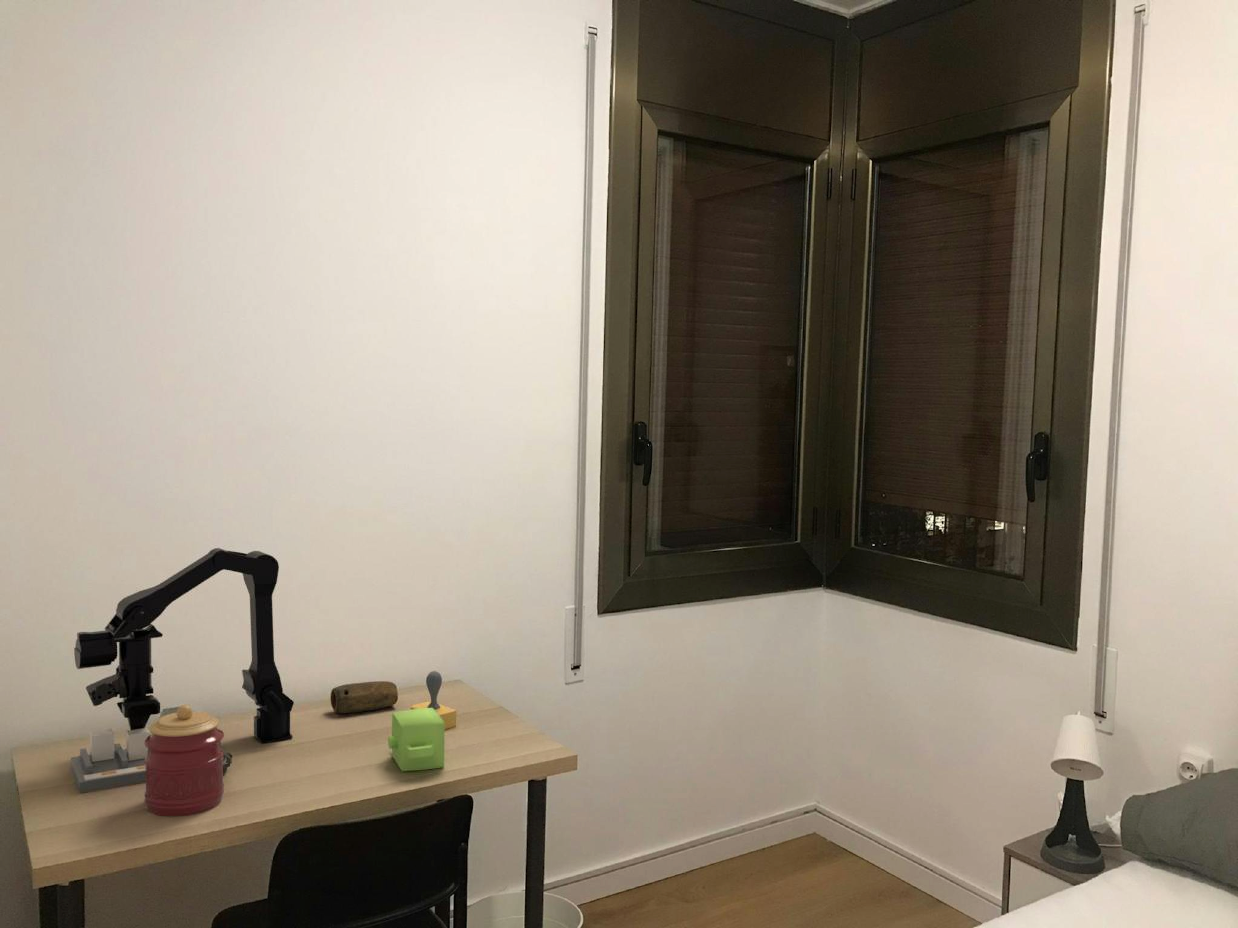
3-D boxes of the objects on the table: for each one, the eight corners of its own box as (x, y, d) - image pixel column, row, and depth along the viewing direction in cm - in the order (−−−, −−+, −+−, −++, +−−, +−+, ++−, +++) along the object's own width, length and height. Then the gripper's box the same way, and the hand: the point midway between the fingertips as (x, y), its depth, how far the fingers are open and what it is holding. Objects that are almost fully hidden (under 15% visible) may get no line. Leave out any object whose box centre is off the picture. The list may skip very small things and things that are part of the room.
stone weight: (340, 719, 230) (340, 690, 229) (327, 712, 235) (327, 683, 235) (400, 708, 239) (401, 680, 238) (387, 701, 244) (388, 674, 244)
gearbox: (379, 749, 211) (379, 704, 210) (427, 744, 214) (427, 699, 214) (396, 779, 194) (397, 731, 194) (447, 773, 198) (448, 725, 197)
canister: (231, 808, 179) (231, 709, 178) (150, 823, 172) (150, 720, 171) (215, 784, 190) (215, 690, 189) (139, 797, 183) (138, 700, 182)
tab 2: (147, 752, 199) (147, 727, 199) (150, 757, 197) (150, 731, 197) (126, 756, 197) (126, 730, 197) (128, 760, 195) (128, 735, 195)
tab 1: (111, 753, 198) (111, 728, 198) (114, 758, 196) (113, 732, 196) (90, 757, 196) (89, 731, 196) (91, 761, 194) (91, 736, 194)
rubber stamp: (457, 726, 227) (457, 673, 226) (435, 731, 223) (436, 677, 222) (430, 716, 234) (431, 664, 233) (409, 721, 229) (410, 669, 229)
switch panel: (160, 753, 205) (160, 736, 205) (174, 776, 193) (174, 758, 193) (70, 767, 196) (70, 749, 196) (79, 793, 184) (79, 774, 184)
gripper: (83, 655, 202) (84, 732, 203) (94, 678, 186) (95, 761, 187) (145, 649, 208) (145, 724, 209) (160, 670, 193) (160, 751, 194)
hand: (135, 739), depth 200 cm, fingers closed
